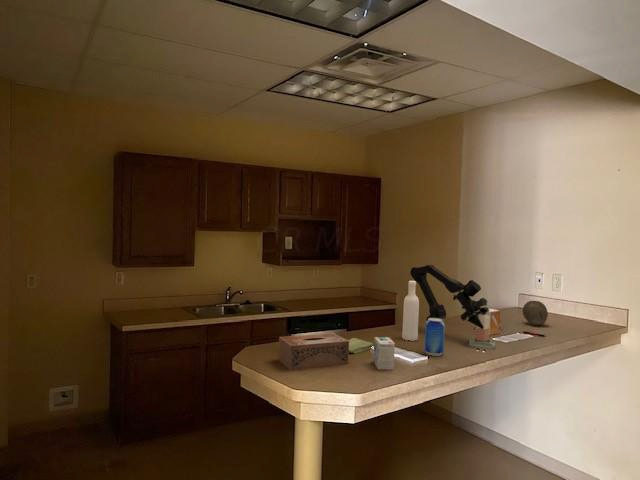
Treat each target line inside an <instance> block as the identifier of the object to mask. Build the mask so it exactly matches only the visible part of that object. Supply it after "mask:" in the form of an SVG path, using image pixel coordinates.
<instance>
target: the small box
mask: <svg viewBox="0 0 640 480" xmlns="http://www.w3.org/2000/svg"><path fill="white" fill-rule="evenodd" d="M488 309H489V311H488V312H487V313H486V315H488V316H490V322H489V336H491V335H498V334H500V333H499V332H500V323H499V318H500V315H501V311H500V310H498V309H492V308H488ZM500 319H501V318H500Z"/></svg>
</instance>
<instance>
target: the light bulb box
mask: <svg viewBox="0 0 640 480" xmlns="http://www.w3.org/2000/svg"><path fill="white" fill-rule="evenodd" d="M373 344H374V346H373V359H372V360H373V361H372V362H373V363H374V365H375V367H376V368H377V370H385V369H386V370H394V369H395V367H394V366H395V348H396V347H395V346H396V344H395V342H394V341H393V340H392V339H391V337H388V336H385V337H383V336H380V337H379V336H375V337H374V339H373ZM386 370H385V371H386Z"/></svg>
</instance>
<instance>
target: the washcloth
mask: <svg viewBox="0 0 640 480" xmlns="http://www.w3.org/2000/svg"><path fill="white" fill-rule="evenodd" d="M347 340H348V341H349V354H352V355H357V354H360V353H362V352H366V351H368V350H370V348H371V347H372V346H373V347H374V342H373V343H372V342H370V341H366V340H362V339H359V338H356V337H352V338H351V339H347ZM371 349H372V348H371Z"/></svg>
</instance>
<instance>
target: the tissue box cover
mask: <svg viewBox="0 0 640 480" xmlns="http://www.w3.org/2000/svg"><path fill="white" fill-rule="evenodd" d="M348 340H349V339H346V338H344V337H342V336H340V335H339V334H337V333H335V332H329V333H328V332H327V333H317V334H315V333H314V334H303V335H302V334H301V335H289V336H287V335H285V336H279V337H278V358H277V359H278V361H279V362H280V363H281V364H282V363H283V366H285V367H286V368H287V369H288V370H289V371H295V370H294V369H298V370H306V369H305V368H308V369H315V368H316V367H317V368H325V367H334V366H341V365H343V366H344V365H349V356H350V355H349V354H350V353H349V341H348Z"/></svg>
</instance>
